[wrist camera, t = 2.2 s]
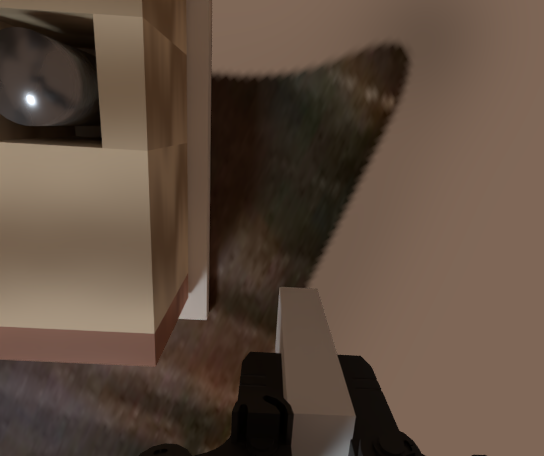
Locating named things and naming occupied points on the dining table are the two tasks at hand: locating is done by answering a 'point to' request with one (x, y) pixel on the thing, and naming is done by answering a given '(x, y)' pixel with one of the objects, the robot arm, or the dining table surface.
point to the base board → (193, 153)
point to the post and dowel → (46, 81)
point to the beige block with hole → (99, 194)
